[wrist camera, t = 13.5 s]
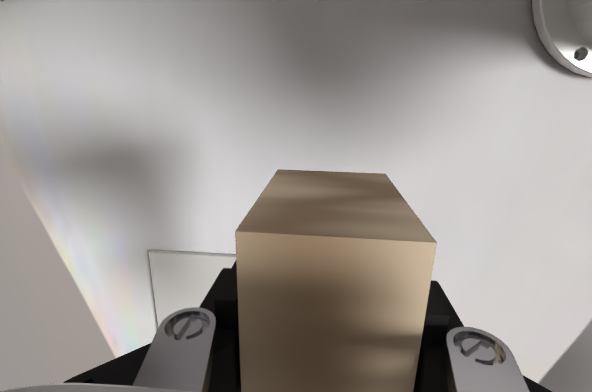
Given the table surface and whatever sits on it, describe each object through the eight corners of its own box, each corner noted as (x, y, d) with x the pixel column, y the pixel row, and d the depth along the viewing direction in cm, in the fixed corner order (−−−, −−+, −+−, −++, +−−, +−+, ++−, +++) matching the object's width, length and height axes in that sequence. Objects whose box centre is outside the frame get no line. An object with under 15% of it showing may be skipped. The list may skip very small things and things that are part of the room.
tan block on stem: (385, 173, 12) (436, 242, 6) (357, 450, 16) (372, 644, 10) (278, 169, 12) (235, 231, 7) (276, 441, 16) (249, 624, 11)
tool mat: (254, 255, 30) (253, 258, 30) (258, 389, 35) (257, 394, 35) (151, 249, 31) (148, 252, 31) (168, 382, 36) (165, 386, 35)
